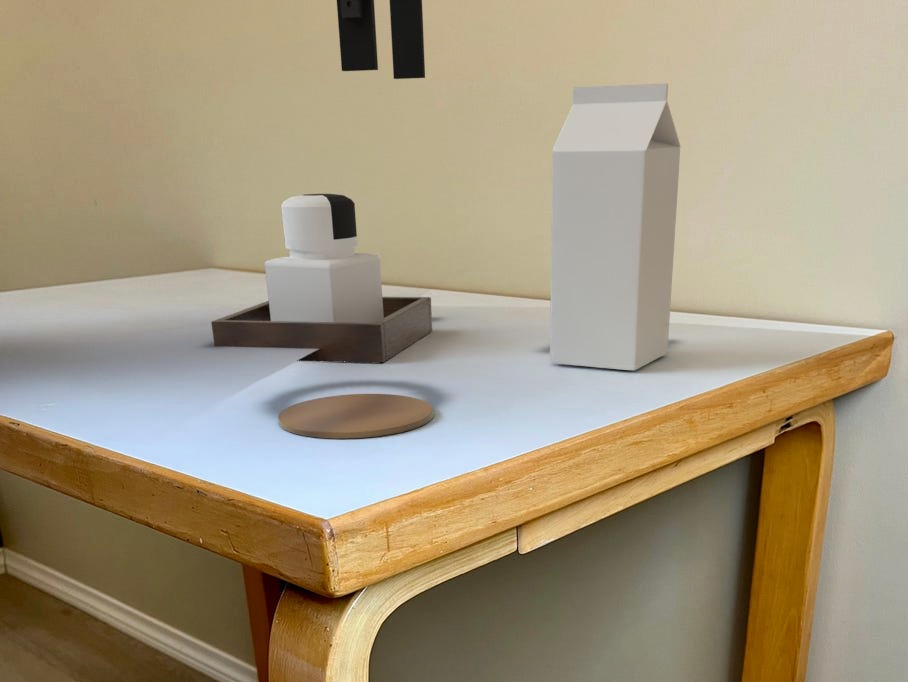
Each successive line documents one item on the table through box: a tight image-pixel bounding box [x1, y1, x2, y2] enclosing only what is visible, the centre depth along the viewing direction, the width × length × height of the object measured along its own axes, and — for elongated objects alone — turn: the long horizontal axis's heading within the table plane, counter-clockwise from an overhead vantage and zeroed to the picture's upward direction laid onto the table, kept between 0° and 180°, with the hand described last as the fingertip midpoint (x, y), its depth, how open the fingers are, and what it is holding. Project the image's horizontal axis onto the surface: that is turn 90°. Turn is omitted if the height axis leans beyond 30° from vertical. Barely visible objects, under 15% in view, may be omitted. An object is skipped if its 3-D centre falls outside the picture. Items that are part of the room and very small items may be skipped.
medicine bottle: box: [264, 193, 384, 323], centre depth 85 cm, size 7×7×12 cm
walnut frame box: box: [211, 296, 433, 363], centre depth 88 cm, size 15×15×3 cm
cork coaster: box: [277, 393, 435, 440], centre depth 65 cm, size 10×10×1 cm
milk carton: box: [549, 82, 681, 371], centre depth 75 cm, size 7×7×19 cm
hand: (386, 75), depth 84 cm, fingers open, 13 cm apart
